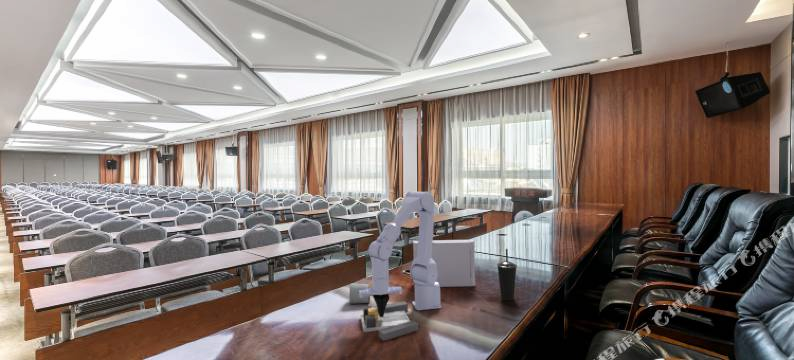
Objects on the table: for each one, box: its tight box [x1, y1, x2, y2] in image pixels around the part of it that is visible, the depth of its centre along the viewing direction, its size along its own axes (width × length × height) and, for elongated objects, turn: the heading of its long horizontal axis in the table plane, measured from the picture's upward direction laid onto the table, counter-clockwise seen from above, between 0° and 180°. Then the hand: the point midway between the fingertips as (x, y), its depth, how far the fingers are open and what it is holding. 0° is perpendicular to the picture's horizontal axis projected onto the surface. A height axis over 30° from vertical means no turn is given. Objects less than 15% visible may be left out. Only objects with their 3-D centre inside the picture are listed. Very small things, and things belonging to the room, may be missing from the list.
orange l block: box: [368, 306, 378, 322], centre depth 120 cm, size 3×3×4 cm
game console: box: [412, 239, 476, 288], centre depth 159 cm, size 6×27×20 cm, turn 89°
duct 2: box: [378, 320, 419, 342], centre depth 113 cm, size 13×3×2 cm, turn 121°
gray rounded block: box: [348, 283, 371, 305], centre depth 142 cm, size 11×8×8 cm
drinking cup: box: [496, 248, 518, 302], centre depth 140 cm, size 8×8×20 cm
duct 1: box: [372, 300, 409, 313], centre depth 130 cm, size 13×3×3 cm, turn 110°
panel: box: [360, 305, 411, 333], centre depth 121 cm, size 16×11×4 cm
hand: (381, 315), depth 121 cm, fingers closed
